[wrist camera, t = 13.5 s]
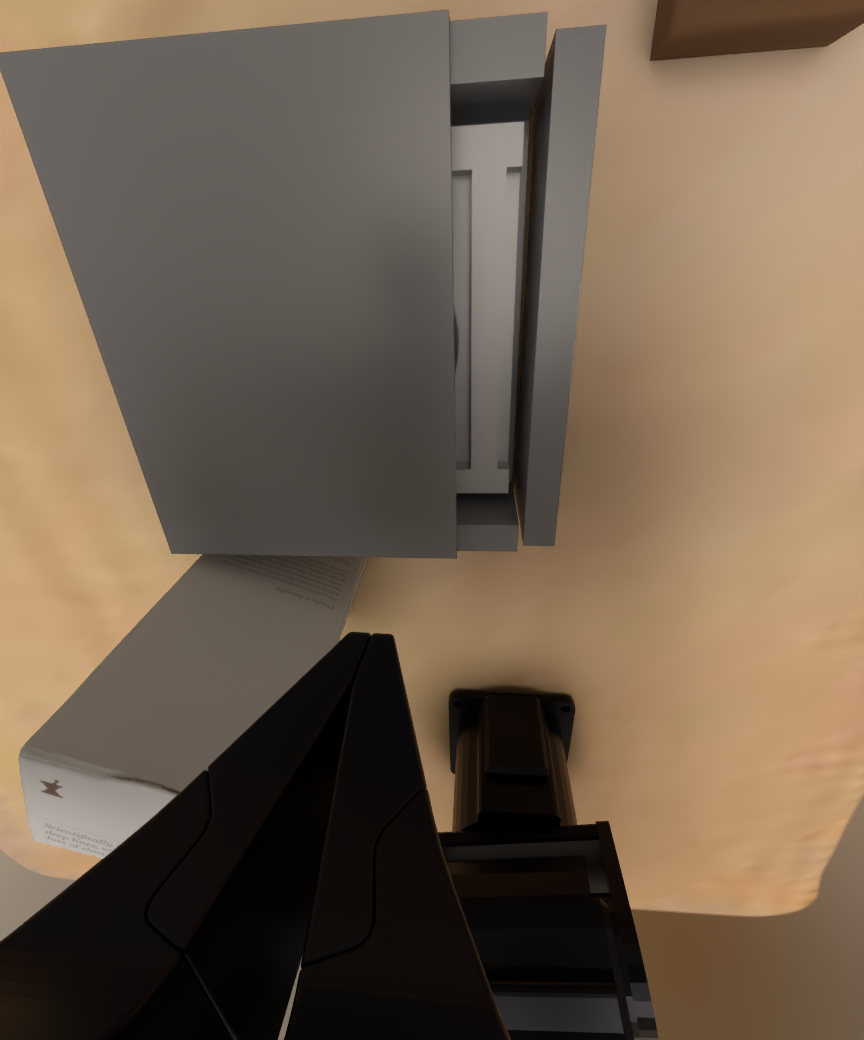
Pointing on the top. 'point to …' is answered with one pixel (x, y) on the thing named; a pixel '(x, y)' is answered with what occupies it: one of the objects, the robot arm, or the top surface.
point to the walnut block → (749, 25)
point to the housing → (283, 267)
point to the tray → (549, 284)
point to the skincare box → (180, 692)
